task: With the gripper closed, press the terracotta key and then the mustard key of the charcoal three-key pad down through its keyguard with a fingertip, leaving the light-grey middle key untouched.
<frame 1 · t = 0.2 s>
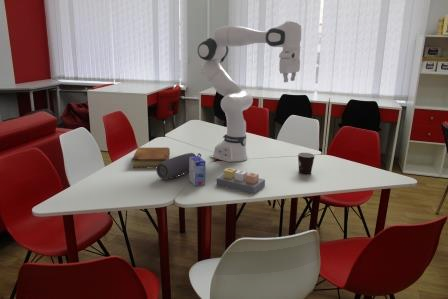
hand: (289, 81, 199), 48 cm above the table, fingers open, 8 cm apart
coffee mug: (304, 172, 207), on the table
key C: (252, 178, 180), point 5 cm above the table, slide at 0.0 cm
key A: (230, 174, 186), point 5 cm above the table, slide at 0.0 cm
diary: (152, 162, 218), on the table
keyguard: (240, 185, 184), on the table
key B: (241, 176, 183), point 5 cm above the table, slide at 0.0 cm
bluetooth speaker: (177, 175, 197), on the table
ink cartridge box: (197, 182, 187), on the table
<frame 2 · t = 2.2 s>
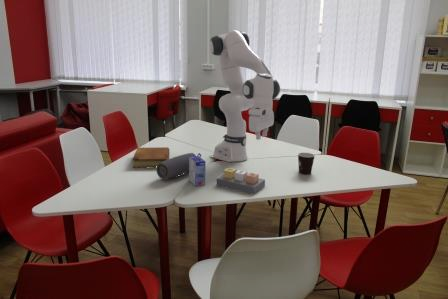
hand: (261, 137, 182), 23 cm above the table, fingers open, 5 cm apart
nothing on the table moved.
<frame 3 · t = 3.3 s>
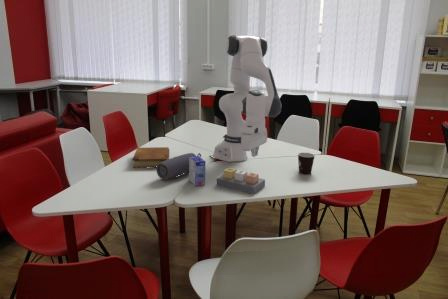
hand: (254, 156, 177), 16 cm above the table, fingers closed
nothing on the table moved.
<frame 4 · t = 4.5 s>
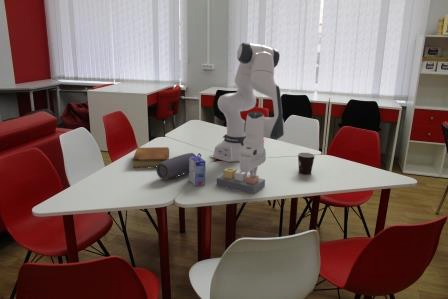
hand: (252, 176, 180), 6 cm above the table, fingers closed, pressing on key C
key C: (252, 180, 180), point 4 cm above the table, slide at 0.9 cm, touching gripper
everything else where it was.
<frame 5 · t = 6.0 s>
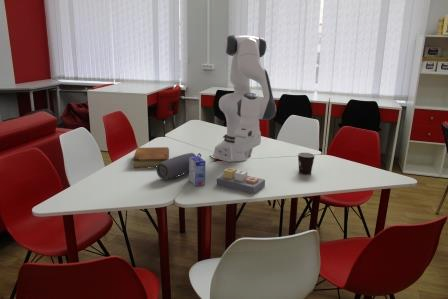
hand: (247, 158, 179), 15 cm above the table, fingers closed
key C: (251, 183, 181), point 3 cm above the table, slide at 2.2 cm
everything else where it was.
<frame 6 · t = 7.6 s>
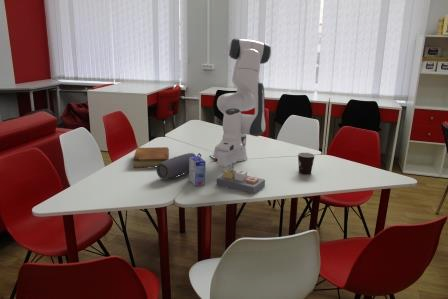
hand: (231, 170, 185), 7 cm above the table, fingers closed, pressing on key A
key A: (230, 175, 186), point 4 cm above the table, slide at 0.7 cm, touching gripper
everything else where it was.
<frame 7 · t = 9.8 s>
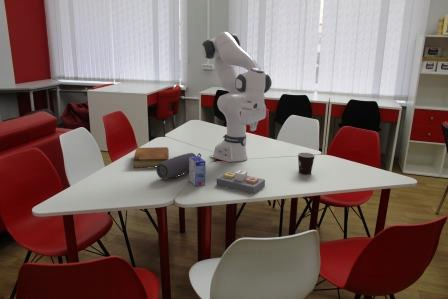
hand: (253, 130, 187), 25 cm above the table, fingers closed
key A: (230, 178, 186), point 3 cm above the table, slide at 2.2 cm
everything else where it was.
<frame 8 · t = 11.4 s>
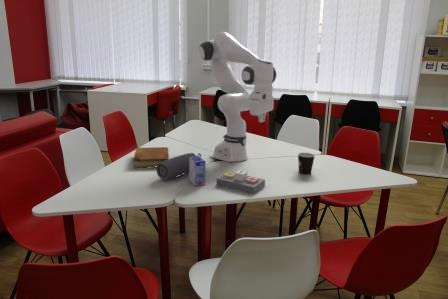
hand: (261, 121, 189), 29 cm above the table, fingers closed
nothing on the table moved.
at the end: key C slide at 2.2 cm; key A slide at 2.2 cm; key B slide at 0.0 cm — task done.
